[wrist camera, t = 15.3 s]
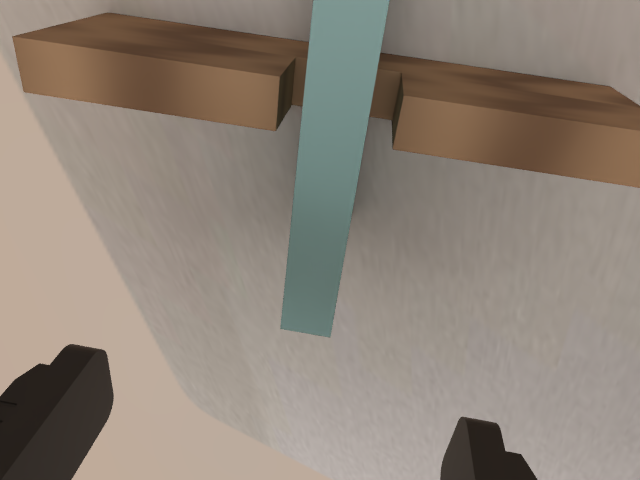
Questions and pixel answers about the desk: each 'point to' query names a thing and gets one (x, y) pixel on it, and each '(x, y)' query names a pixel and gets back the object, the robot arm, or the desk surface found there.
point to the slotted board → (387, 102)
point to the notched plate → (330, 155)
